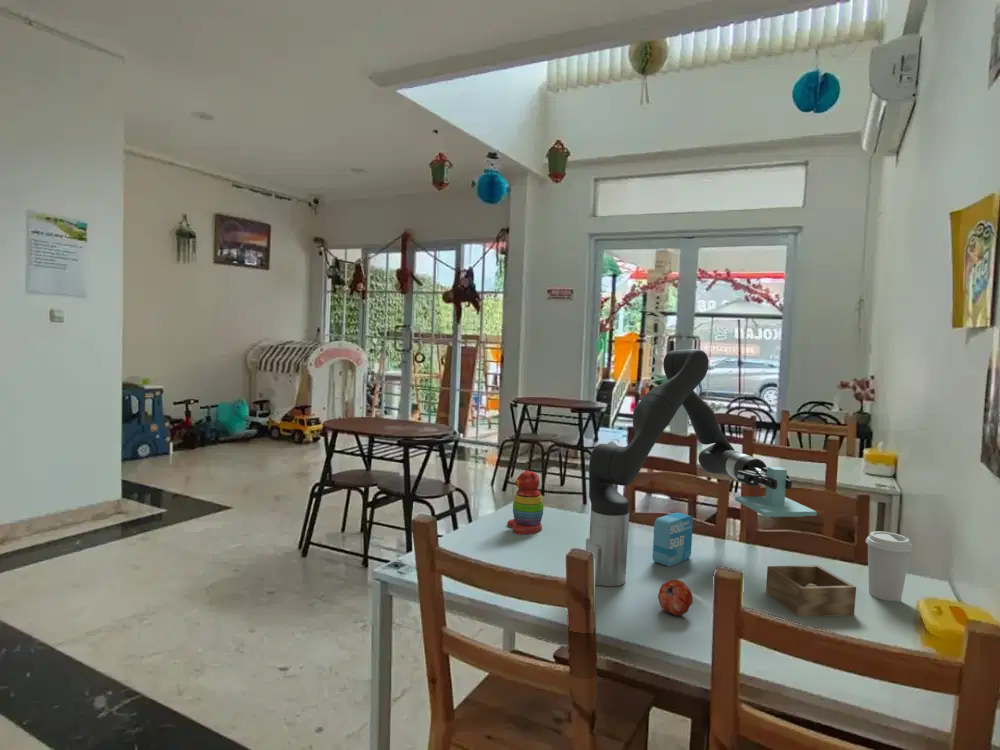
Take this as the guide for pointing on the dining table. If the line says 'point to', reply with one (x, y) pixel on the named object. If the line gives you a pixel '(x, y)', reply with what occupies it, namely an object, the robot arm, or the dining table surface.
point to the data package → (672, 538)
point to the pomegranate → (675, 597)
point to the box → (810, 590)
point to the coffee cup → (887, 564)
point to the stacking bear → (527, 505)
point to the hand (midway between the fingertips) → (782, 485)
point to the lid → (776, 499)
